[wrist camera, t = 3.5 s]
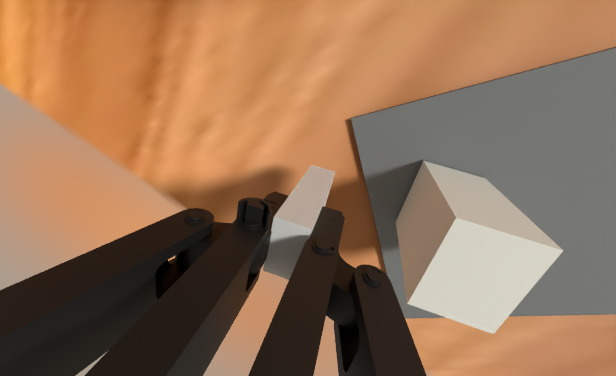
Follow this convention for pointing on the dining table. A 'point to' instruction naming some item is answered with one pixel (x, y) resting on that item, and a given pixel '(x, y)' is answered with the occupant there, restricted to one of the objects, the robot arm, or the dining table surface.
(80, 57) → the dining table surface
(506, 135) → the mat
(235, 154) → the dining table surface
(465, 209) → the white block
